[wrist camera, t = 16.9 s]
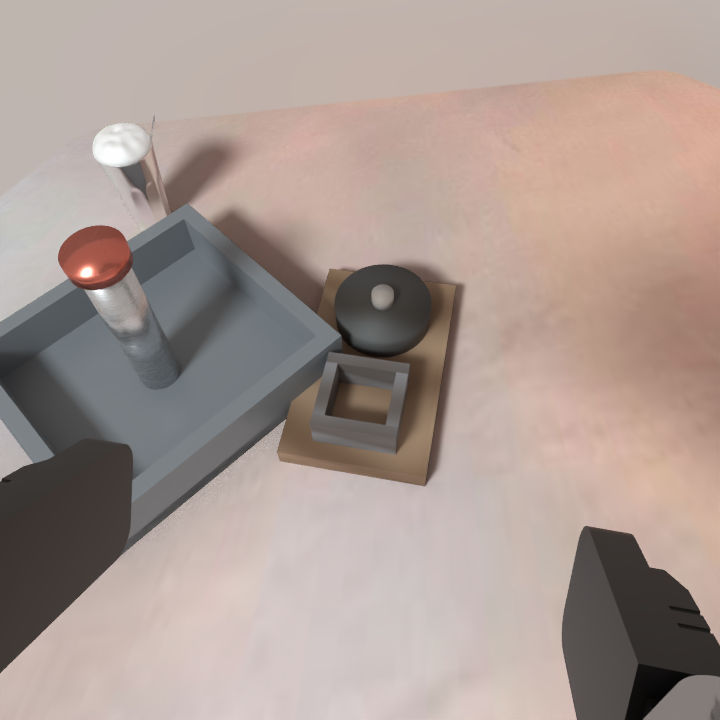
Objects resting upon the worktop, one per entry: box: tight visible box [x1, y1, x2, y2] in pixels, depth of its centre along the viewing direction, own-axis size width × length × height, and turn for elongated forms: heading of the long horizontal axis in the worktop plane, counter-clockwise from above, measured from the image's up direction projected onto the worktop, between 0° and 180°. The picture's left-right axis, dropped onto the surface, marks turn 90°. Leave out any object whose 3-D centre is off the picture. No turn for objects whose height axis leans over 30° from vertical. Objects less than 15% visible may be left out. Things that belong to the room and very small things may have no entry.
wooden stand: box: [277, 265, 456, 486], centre depth 47 cm, size 16×10×4 cm, turn 169°
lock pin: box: [58, 225, 181, 390], centre depth 43 cm, size 4×4×13 cm
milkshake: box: [92, 116, 171, 231], centre depth 54 cm, size 5×5×10 cm
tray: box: [0, 203, 343, 554], centre depth 48 cm, size 20×18×4 cm
